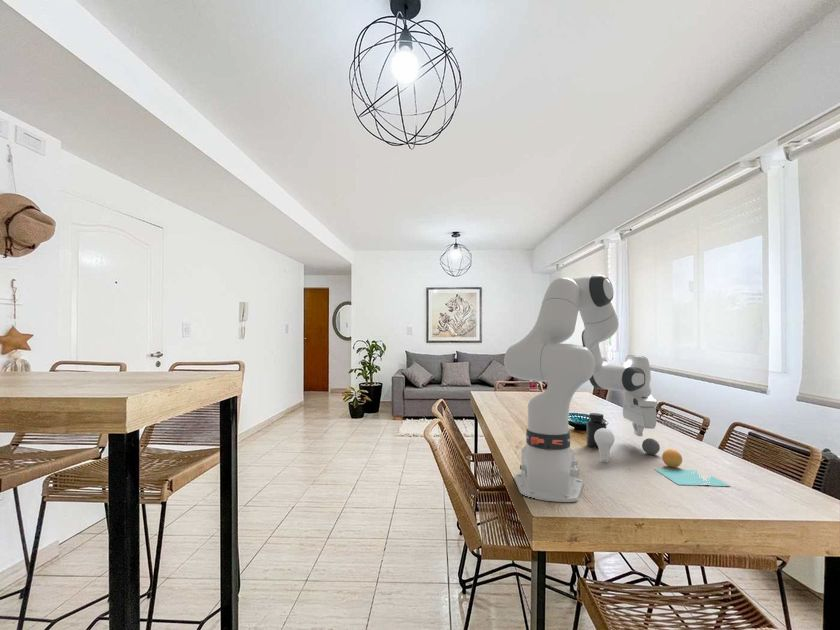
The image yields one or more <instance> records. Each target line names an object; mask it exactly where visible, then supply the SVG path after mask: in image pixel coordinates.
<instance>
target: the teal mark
mask: <svg viewBox="0 0 840 630" xmlns="http://www.w3.org/2000/svg"><path fill="white" fill-rule="evenodd" d="M653 470H654V471H656V472H657V471H658V472H657V473H658V474H660V473H661V474H660V475H662V476H663V475H664V476H663V477H665V476H666V477H667V478H666V477H665V478H666V479H668V478H669V479H668V480H669V481H671V480H672V481H671V482H672V483H674V482H675V483H674V484H676V485H677V484H678V486H690V485H700V484H701V485H702V484H703V483H707V482H708V483H707V485H708V484H710V485H711V486H710V487H720V486H731V485H729V484H727V483H726V482H724V481H722V480H721V479H719V478H716V477H714V476H713V475H711V478H710V477H709V478H710V479H709V478H707V481H705V480H704V481H703V479H702V478H699V474H698V473H697V470H698V469H675V468H674V469H671V468H653ZM692 470H693V471H692ZM695 470H696V471H695ZM694 471H695V473H694V474H693V472H694ZM691 472H692V474H691ZM697 474H698V475H697ZM701 475H702V474H701ZM701 475H700V477H701ZM708 479H709V481H708ZM709 482H710V483H709ZM703 485H704V484H703ZM705 485H706V484H705Z"/></svg>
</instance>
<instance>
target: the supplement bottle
mask: <svg viewBox="0 0 840 630" xmlns="http://www.w3.org/2000/svg"><path fill="white" fill-rule="evenodd" d="M588 418H589V419H588V421H587V422H586V444H587V446H588V447H589V448H592V449H598V445H597V443H596V441H595V439H594V434H595V432H596V431H597V430H598V429H601V428H606V429H607V424H606V422H605V421H604V420H605V418H604V414H603V413H599V412H597V413H596V412H591V413H589V417H588Z"/></svg>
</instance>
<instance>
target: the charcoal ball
mask: <svg viewBox="0 0 840 630" xmlns="http://www.w3.org/2000/svg"><path fill="white" fill-rule="evenodd" d="M660 446H661V445H660V444H659V442H658V441H657V440H656V439H654V438H646V439H644V440H643V441H642V444H641V447H642V450H643V452H645V454H647V455H651V456H652V455H653V456H654V455H657V454H658V453H659V452H660V450H661V447H660Z"/></svg>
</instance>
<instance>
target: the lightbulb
mask: <svg viewBox="0 0 840 630" xmlns="http://www.w3.org/2000/svg"><path fill="white" fill-rule="evenodd" d="M594 439H595V441H596V443H597V445H598V448H599V449H598V448H597V449H598V453H599V456H600V457H599V459H600V461H602V462H603V463H607V462H609V460H610V453H611V448H612V446H613V445H614V443H615V435H614V433H613V432H612V430H610V429H608V428H607V427H606V428H601V429H598V430H597V431H596V432H595V434H594Z"/></svg>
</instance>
